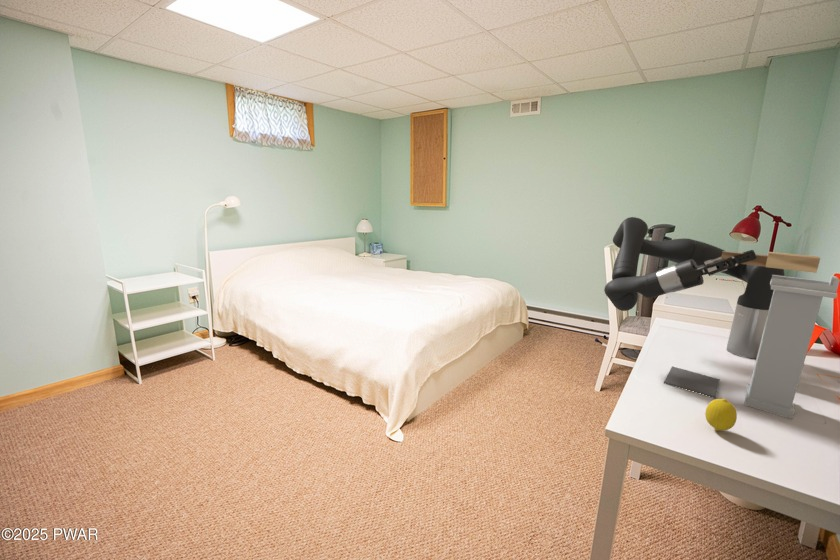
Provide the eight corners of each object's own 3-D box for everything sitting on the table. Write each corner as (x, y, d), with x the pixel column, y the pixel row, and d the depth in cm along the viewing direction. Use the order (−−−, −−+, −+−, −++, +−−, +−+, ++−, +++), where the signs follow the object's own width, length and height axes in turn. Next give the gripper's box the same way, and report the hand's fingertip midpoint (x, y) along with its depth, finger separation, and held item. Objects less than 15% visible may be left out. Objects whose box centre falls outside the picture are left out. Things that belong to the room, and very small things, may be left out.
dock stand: (743, 389, 107) (773, 268, 100) (797, 404, 100) (834, 274, 93) (742, 404, 99) (775, 273, 91) (800, 421, 92) (841, 281, 84)
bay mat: (671, 367, 120) (672, 366, 119) (719, 380, 112) (719, 379, 112) (663, 383, 109) (663, 381, 109) (715, 398, 102) (715, 396, 102)
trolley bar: (721, 260, 103) (724, 247, 103) (814, 270, 92) (818, 256, 91) (720, 261, 100) (722, 248, 100) (816, 272, 89) (820, 258, 88)
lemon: (696, 423, 90) (703, 392, 88) (718, 423, 90) (725, 392, 89) (716, 438, 84) (723, 405, 83) (738, 437, 85) (747, 405, 83)
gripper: (688, 285, 113) (761, 264, 102) (681, 293, 103) (762, 270, 91) (677, 262, 114) (749, 238, 103) (669, 267, 104) (747, 242, 92)
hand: (754, 254), depth 97 cm, fingers closed on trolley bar, 2 cm apart
